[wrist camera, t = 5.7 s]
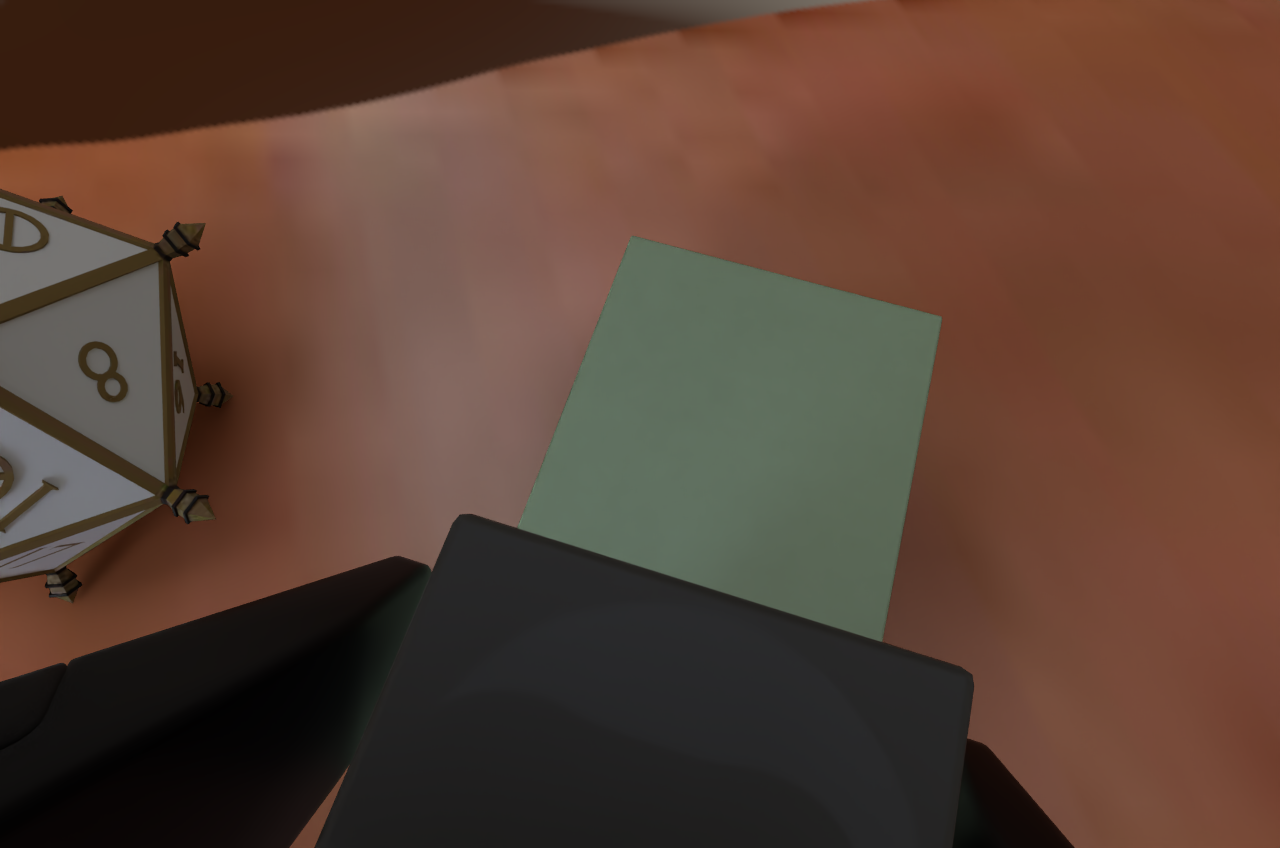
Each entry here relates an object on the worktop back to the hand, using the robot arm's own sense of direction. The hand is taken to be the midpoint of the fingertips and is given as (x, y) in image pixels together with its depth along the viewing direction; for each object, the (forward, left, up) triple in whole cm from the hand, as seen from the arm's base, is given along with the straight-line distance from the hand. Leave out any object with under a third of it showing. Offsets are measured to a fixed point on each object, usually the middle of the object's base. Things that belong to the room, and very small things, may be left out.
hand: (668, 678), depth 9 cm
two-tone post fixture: (+2, +2, -8) cm, 8 cm away
